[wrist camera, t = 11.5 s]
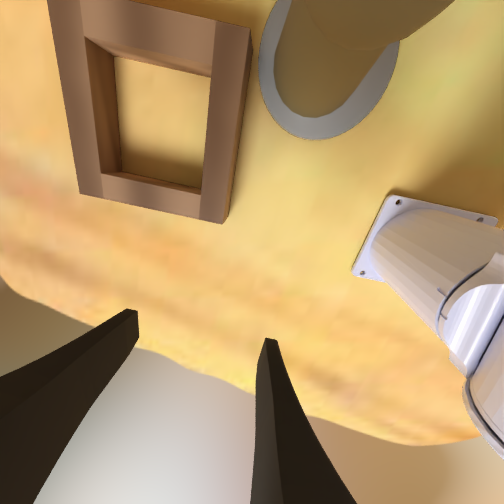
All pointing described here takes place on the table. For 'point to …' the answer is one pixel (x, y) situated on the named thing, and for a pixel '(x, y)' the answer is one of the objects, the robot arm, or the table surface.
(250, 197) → the table surface
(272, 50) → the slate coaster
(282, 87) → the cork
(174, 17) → the walnut holder
